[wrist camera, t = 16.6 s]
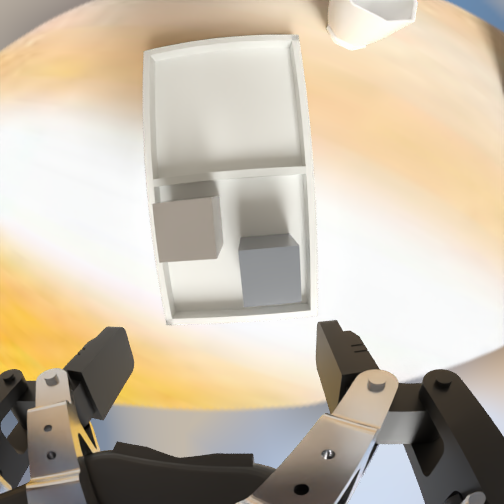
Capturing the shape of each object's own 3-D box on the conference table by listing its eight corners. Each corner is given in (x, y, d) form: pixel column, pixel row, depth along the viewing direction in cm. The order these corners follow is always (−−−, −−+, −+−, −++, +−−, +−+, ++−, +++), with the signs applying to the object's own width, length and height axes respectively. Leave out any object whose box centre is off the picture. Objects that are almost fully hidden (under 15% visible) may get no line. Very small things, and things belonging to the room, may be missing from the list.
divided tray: (295, 44, 20) (298, 34, 18) (312, 306, 26) (317, 316, 24) (150, 59, 20) (143, 51, 18) (172, 315, 26) (166, 325, 24)
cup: (296, 26, 20) (312, -24, 12) (356, -12, 18) (382, -54, 10) (354, 75, 21) (391, 38, 13) (406, 31, 19) (445, -2, 12)
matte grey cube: (289, 233, 24) (299, 245, 19) (291, 279, 25) (301, 302, 20) (240, 237, 24) (238, 250, 19) (244, 283, 25) (243, 307, 20)
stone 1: (219, 195, 23) (211, 197, 18) (223, 243, 24) (217, 258, 19) (171, 200, 23) (152, 203, 18) (176, 247, 24) (159, 262, 19)
